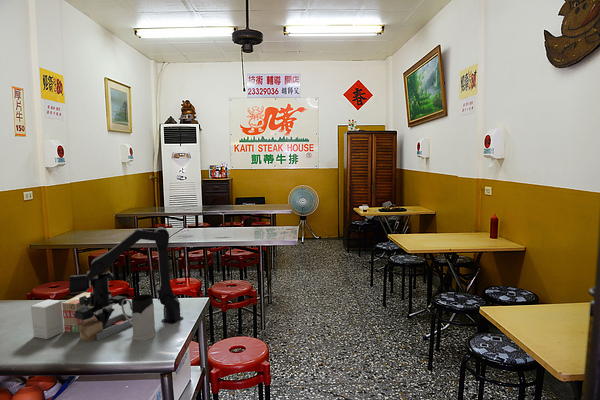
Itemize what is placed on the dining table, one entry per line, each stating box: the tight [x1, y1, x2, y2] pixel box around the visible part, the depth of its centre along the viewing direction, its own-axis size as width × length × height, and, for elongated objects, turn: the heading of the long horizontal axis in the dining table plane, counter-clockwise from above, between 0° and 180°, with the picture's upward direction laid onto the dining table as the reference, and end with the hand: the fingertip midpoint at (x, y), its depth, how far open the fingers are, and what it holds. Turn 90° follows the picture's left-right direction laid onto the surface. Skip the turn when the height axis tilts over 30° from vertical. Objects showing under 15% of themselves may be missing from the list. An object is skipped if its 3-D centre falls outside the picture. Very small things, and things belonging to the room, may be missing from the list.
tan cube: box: [79, 320, 104, 343], centre depth 144 cm, size 6×6×6 cm
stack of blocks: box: [61, 291, 112, 334], centre depth 158 cm, size 21×6×12 cm, turn 171°
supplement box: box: [30, 299, 65, 340], centre depth 146 cm, size 7×7×13 cm
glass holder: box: [120, 294, 157, 341], centre depth 145 cm, size 9×14×15 cm, turn 73°
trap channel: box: [96, 312, 133, 341], centre depth 151 cm, size 10×18×2 cm, turn 153°
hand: (103, 328), depth 148 cm, fingers closed
